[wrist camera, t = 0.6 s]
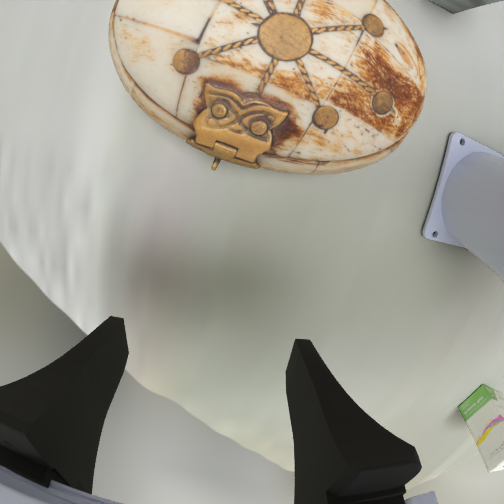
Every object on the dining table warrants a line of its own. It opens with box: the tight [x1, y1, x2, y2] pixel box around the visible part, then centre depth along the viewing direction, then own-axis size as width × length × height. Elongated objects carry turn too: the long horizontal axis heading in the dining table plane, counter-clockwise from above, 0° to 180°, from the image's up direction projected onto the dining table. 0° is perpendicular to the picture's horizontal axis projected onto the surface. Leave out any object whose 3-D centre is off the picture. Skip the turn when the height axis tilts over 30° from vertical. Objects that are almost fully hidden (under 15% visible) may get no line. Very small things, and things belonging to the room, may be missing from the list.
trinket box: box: [109, 0, 427, 174], centre depth 12 cm, size 13×15×8 cm
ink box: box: [458, 385, 504, 472], centre depth 25 cm, size 9×5×15 cm, turn 59°
